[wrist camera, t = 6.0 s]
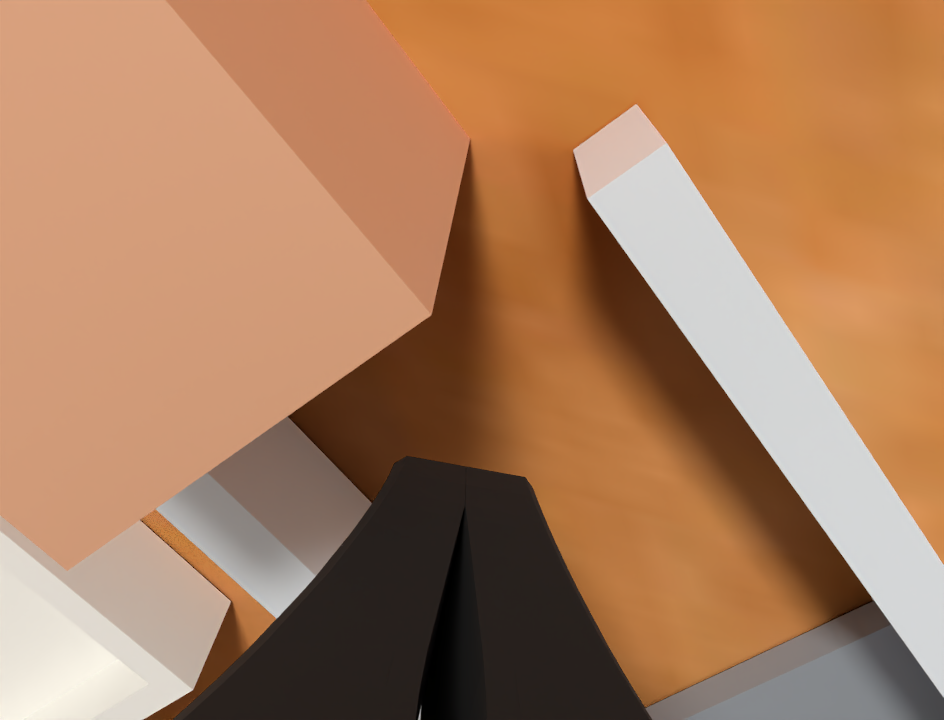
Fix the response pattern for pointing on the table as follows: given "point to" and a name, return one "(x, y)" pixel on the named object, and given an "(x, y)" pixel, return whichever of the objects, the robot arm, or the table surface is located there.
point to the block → (197, 237)
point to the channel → (717, 343)
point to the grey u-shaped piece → (818, 679)
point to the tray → (101, 629)
